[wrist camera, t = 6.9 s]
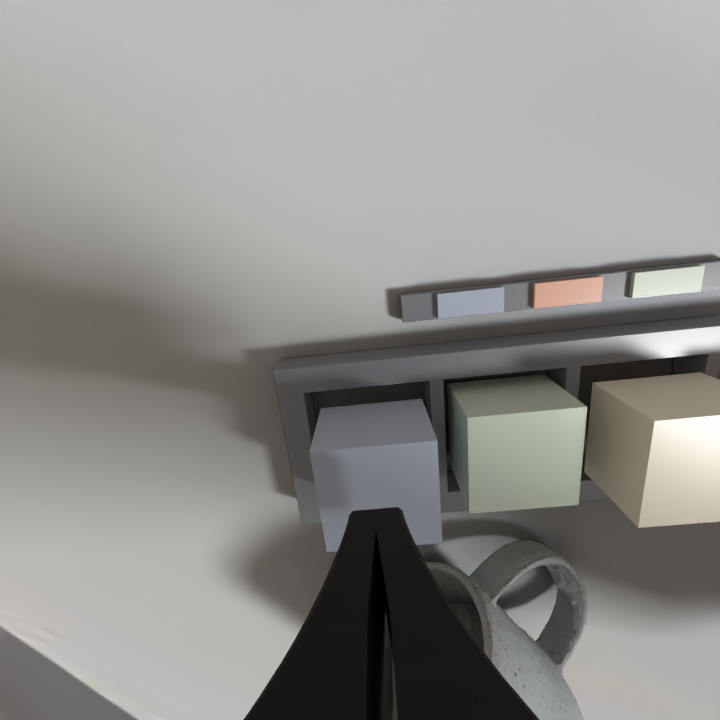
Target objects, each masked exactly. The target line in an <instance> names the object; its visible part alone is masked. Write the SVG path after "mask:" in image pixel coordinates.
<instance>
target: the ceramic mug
mask: <svg viewBox="0 0 720 720" xmlns="http://www.w3.org/2000/svg"><path fill="white" fill-rule="evenodd" d="M425 563H426V565H427V566H428V568H429V570H430V572H431V574H432V575H433V577H434V579H435V580H436V582H437V584H438V585H439V587H440V589H441V590H442V592H443V594H444V595H445V597H446V598H447V600H448V601H449V603H450V604H451V606H452V608H453V609H454V611H455V612H456V614H457V615H458V617H459V618H460V619H461V621H462V622H463V624H464V625H465V627H466V628H467V630H468V631H469V632H470V634H471V635H472V636H473V638H474V639H475V641H476V642H477V643H478V645H479V646H480V647H481V649H482V650H483V651H484V653H485V654H486V655H487V657H488V658H489V659H490V660H491V662H492V663H493V664H494V666H495V667H496V668H497V669H498V671H499V672H500V673H501V675H502V676H503V677H504V678H505V680H506V681H507V682H508V683H509V684H510V685H511V687H512V688H513V689H514V690H515V691H516V692H517V694H518V695H519V696H520V697H521V698H522V700H523V701H524V702H525V703H526V704H527V705H528V707H529V708H530V709H531V710H532V711H533V713H534V714H535V715H536V716H537V717H538V718H539V720H583V717H582V714H581V711H580V709H579V706H578V704H577V702H576V699H575V697H574V695H573V694H572V692H571V690H570V688H569V686H568V684H567V683H566V681H565V679H564V678H563V672H562V669H563V667H564V666H565V664H566V663H567V661H568V660H569V658H570V656H571V655H572V653H573V651H574V649H575V647H576V646H577V644H578V642H579V640H580V637H581V634H582V631H583V629H584V626H585V624H586V617H587V597H586V591H585V588H584V585H583V583H582V581H581V578H580V576H579V574H578V573H577V572H576V570H575V569H574V568H573V566H572V565H571V564H570V562H568V561H567V560H566V559H565V558H563V557H562V556H561V555H559V554H557V553H556V552H554V551H552V550H551V549H549V548H548V547H546V546H545V545H543V544H541V543H538V542H535V541H532V540H523V541H515V542H512V543H510V544H507V545H504V546H503V547H501V548H500V549H498V550H497V551H496V552H494V553H493V554H492V555H491V556H490V557H488V558H487V559H486V560H485V561H484V562H483V563H482V564H481V565H480V566H479V567H478V568H477V569H476V570H475V571H474V572H473V573H472V574H471V575H470V576H468V575H466V574H465V573H464V572H462V571H461V570H460V569H458V568H456V567H454V566H451V565H448V564H445V563H440V562H425ZM541 565H542V566H544V565H545V566H546V567H547V568H548V570H549V572H550V573H551V575H552V578H553V583H554V584H555V585H556V586H557V587H558V592H557V598H556V604H555V606H554V609H553V611H552V614H551V617H550V619H549V621H548V623H547V624H546V626H545V628H544V629H543V631H542V633H541V634H540V636H539V638H538V639H537V640H536V641H534V640H533V638H531V637H530V636H529V635H528V634H527V633H526V632H525V631H524V630H523V629H521V628H520V627H519V626H517V625H516V623H515V622H514V621H513V620H512V619H511V618H510V617H509V616H508V615H507V613H506V612H505V611H504V610H503V609H502V608H501V607H500V606H499V605H498V604H497V603H496V602H497V600H498V598H499V596H500V595H501V593H502V592H503V591H504V590H505V589H506V588H508V587H509V586H510V585H511V584H513V583H514V582H515V581H516V580H517V579H518V578H519V577H520V576H522V575H523V574H525V573H526V572H528V571H529V570H531V569H534V568H536V567H538V566H541ZM384 720H398V718H397V703H396V688H395V673H394V664H393V657H392V651H391V644H390V637H389V631H388V624H387V618H386V611H385V666H384Z"/></svg>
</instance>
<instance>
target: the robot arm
mask: <svg viewBox="0 0 720 720" xmlns="http://www.w3.org/2000/svg"><path fill="white" fill-rule="evenodd" d="M385 611H386V618H387V624H388V631H389V637H390V644H391V651H392V657H393V664H394V673H395V688H396V703H397V718H398V720H539V718H538V717H537V716H536V715H535V714H534V713H533V711H532V710H531V709H530V708H529V707H528V705H527V704H526V703H525V702H524V701H523V700H522V698H521V697H520V696H519V695H518V694H517V692H516V691H515V690H514V689H513V688H512V687H511V685H510V684H509V683H508V682H507V681H506V680H505V678H504V677H503V676H502V675H501V673H500V672H499V671H498V669H497V668H496V667H495V666H494V664H493V663H492V662H491V660H490V659H489V658H488V657H487V655H486V654H485V653H484V651H483V650H482V649H481V647H480V646H479V645H478V643H477V642H476V641H475V639H474V638H473V636H472V635H471V634H470V632H469V631H468V630H467V628H466V627H465V625H464V624H463V622H462V621H461V619H460V618H459V617H458V615H457V614H456V612H455V611H454V609H453V608H452V606H451V604H450V603H449V601H448V600H447V598H446V597H445V595H444V594H443V592H442V590H441V589H440V587H439V585H438V584H437V582H436V580H435V579H434V577H433V575H432V574H431V572H430V570H429V568H428V566H427V565H426V563H425V561H424V559H423V557H422V556H421V554H420V552H419V550H418V548H417V546H416V544H415V542H414V539H413V537H412V535H411V533H410V531H409V528H408V526H407V523H406V520H405V517H404V514H403V510H401V509H400V508H399V507H392V508H380V509H368V510H356V511H352V512H351V513H350V514H349V518H348V522H347V526H346V529H345V532H344V535H343V538H342V541H341V544H340V546H339V549H338V552H337V554H336V557H335V559H334V561H333V564H332V566H331V568H330V571H329V573H328V575H327V578H326V580H325V582H324V584H323V587H322V589H321V591H320V593H319V595H318V597H317V599H316V601H315V603H314V605H313V607H312V609H311V611H310V613H309V615H308V617H307V619H306V620H305V622H304V624H303V626H302V628H301V630H300V631H299V633H298V635H297V637H296V639H295V640H294V642H293V644H292V645H291V647H290V649H289V651H288V652H287V654H286V656H285V657H284V659H283V661H282V662H281V664H280V665H279V667H278V669H277V670H276V672H275V673H274V675H273V676H272V678H271V679H270V681H269V683H268V684H267V686H266V687H265V689H264V690H263V692H262V694H261V695H260V697H259V698H258V700H257V701H256V702H255V704H254V705H253V707H252V708H251V710H250V711H249V713H248V714H247V716H246V717H245V719H244V720H384V666H385Z"/></svg>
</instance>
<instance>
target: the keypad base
mask: <svg viewBox="0 0 720 720" xmlns="http://www.w3.org/2000/svg"><path fill="white" fill-rule="evenodd" d="M670 357H675V358H674V365H673V371H672V375H677V374H687V373H698V372H701V373H704V374H706V375H709V376H711V377H714V378H716V379H718V374H719V369H720V315H712V316H702V317H692V318H682V319H673V320H663V321H653V322H643V323H633V324H623V325H613V326H603V327H593V328H584V329H574V330H564V331H554V332H544V333H534V334H524V335H514V336H504V337H494V338H485V339H475V340H465V341H455V342H445V343H435V344H425V345H415V346H405V347H396V348H386V349H376V350H366V351H356V352H346V353H336V354H326V355H316V356H306V357H297V358H287V359H280V361H279V362H278V363H277V365H276V366H275V368H274V369H273V370H272V372H273V377H274V382H275V387H276V393H277V398H278V403H279V408H280V413H281V418H282V424H283V429H284V434H285V439H286V444H287V449H288V455H289V460H290V465H291V470H292V475H293V481H294V486H295V491H296V496H297V501H298V506H299V512H300V517H301V522H302V524H309V523H321V516H320V510H319V505H318V499H317V493H316V487H315V481H314V476H313V470H312V464H311V458H310V448H311V444H312V440H313V436H314V432H315V428H316V422H315V416H314V410H313V404H312V398H311V392H319V391H330V390H340V389H350V388H361V387H371V386H381V385H392V384H402V383H412V382H422V381H425V397H426V411H427V414H428V416H429V419H430V422H431V425H432V427H433V430H434V433H435V435H436V438H437V442H438V463H439V483H440V504H441V513H444V512H456V511H468V509H467V506H466V504H465V501H464V499H463V496H462V493H461V491H460V488H459V486H458V483H457V480H456V478H455V475H454V473H453V471H447V459H446V435H445V410H444V386H443V379H453V378H464V377H474V376H484V375H495V374H505V373H515V372H526V371H536V370H546V369H548V376H547V377H548V378H549V379H551V380H552V381H553V382H555V383H556V384H557V385H559V386H560V387H561V388H563V389H564V390H565V391H567V392H568V393H570V394H571V395H572V396H574V397H575V398H576V399H578V395H579V383H580V371H581V366H588V365H598V364H608V363H619V362H629V361H639V360H650V359H660V358H670ZM584 468H585V460H583V461H582V472H581V483H580V494H579V501H591V500H603V499H610V498H609V497H608V496H607V495H606V494H605V493H604V492H603V491H602V490H601V489H600V488H599V486H598V485H597V484H596V483H595V482H594V481H593V480H592V479H591V478H590V477H589V476H588V475H587V474H586V473H585V472H584Z"/></svg>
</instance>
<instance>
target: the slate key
mask: <svg viewBox="0 0 720 720" xmlns="http://www.w3.org/2000/svg"><path fill="white" fill-rule="evenodd" d="M310 458H311V464H312V470H313V476H314V481H315V487H316V493H317V499H318V505H319V510H320V516H321V522H322V528H323V534H324V539H325V545H326V551H327V552H336V551H338V549H339V546H340V544H341V541H342V538H343V535H344V532H345V529H346V526H347V522H348V518H349V514H350V513H351V512H352V511H356V510H368V509H380V508H392V507H399V508H400V509H401V510H403V514H404V517H405V520H406V523H407V526H408V528H409V531H410V533H411V535H412V537H413V539H414V542H415V544H416V545H426V544H439V543H442V524H441V504H440V483H439V463H438V442H437V438H436V435H435V433H434V430H433V427H432V425H431V422H430V419H429V416H428V414H427V411H426V408H425V406H424V403H423V400H422V399H413V400H403V401H392V402H382V403H371V404H361V405H350V406H340V407H329V408H321V409H320V413H319V417H318V421H317V425H316V428H315V432H314V436H313V440H312V444H311V448H310Z"/></svg>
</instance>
